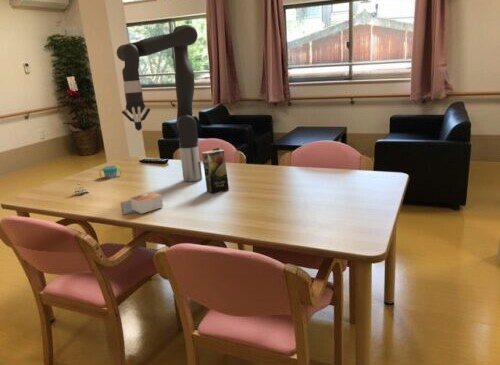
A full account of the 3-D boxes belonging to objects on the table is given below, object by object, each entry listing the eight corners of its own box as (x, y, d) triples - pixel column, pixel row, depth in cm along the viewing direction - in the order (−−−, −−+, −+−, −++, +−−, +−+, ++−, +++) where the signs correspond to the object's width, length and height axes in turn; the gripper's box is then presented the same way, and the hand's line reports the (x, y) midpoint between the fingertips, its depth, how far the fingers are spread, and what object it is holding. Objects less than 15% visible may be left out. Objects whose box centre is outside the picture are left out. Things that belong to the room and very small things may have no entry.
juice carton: (200, 150, 187) (206, 150, 182) (219, 147, 192) (225, 147, 187) (205, 192, 191) (211, 194, 186) (224, 188, 196) (230, 190, 191)
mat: (150, 198, 188) (150, 197, 188) (155, 209, 171) (155, 208, 171) (121, 202, 184) (121, 202, 184) (123, 214, 168) (123, 214, 167)
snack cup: (122, 177, 232) (120, 164, 230) (121, 180, 224) (119, 167, 222) (101, 179, 229) (99, 166, 227) (100, 183, 222) (97, 169, 220)
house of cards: (70, 201, 193) (67, 186, 191) (69, 197, 200) (66, 182, 198) (90, 197, 197) (88, 182, 195) (89, 193, 204) (86, 179, 202)
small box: (161, 194, 171) (139, 201, 164) (163, 207, 173) (141, 214, 166) (152, 191, 177) (129, 197, 170) (153, 203, 178) (131, 210, 171)
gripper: (147, 90, 186) (152, 127, 190) (117, 92, 182) (123, 131, 186) (149, 90, 179) (154, 129, 183) (118, 93, 175) (124, 132, 180)
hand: (138, 130), depth 185 cm, fingers closed
